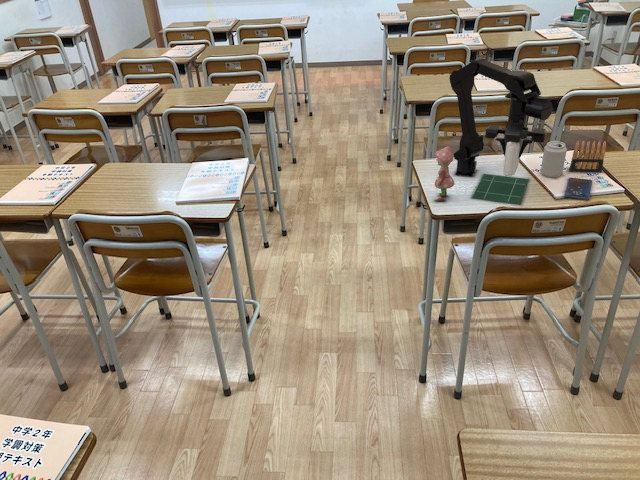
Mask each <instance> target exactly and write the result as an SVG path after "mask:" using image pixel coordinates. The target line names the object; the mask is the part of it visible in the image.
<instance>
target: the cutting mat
mask: <svg viewBox="0 0 640 480" xmlns="http://www.w3.org/2000/svg"><path fill="white" fill-rule="evenodd" d="M528 182H529V178H522V177H515V176H507V175H498V174H497V175H495V174H487V173H484V174H483V175H482V177H481V179H480V181H479V183H478V185H477V187H476V189H475V191H474V193H473V195H472V197H471V198H472V199H475V200H483V201H490V202H498V203H506V204H512V205H521V203H522V200H523V198H524V195H525V191H526V188H527V185H528Z"/></svg>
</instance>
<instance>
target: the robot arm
mask: <svg viewBox="0 0 640 480" xmlns="http://www.w3.org/2000/svg"><path fill="white" fill-rule="evenodd" d="M478 75H480V76H483V77H485V78H488V79H490V80H493V81H495V82H498V83H500V84H501V85H503V86H504V88H505V89H506V90H507V91H508V93H506V94H505V95H504V98H506V99H510V101H509V110H508V118H507V123H506V126H505V128H501V125H498V124H489V125H488V126H487V128H486V129H485V132H484V133H485V134H484V136H483V134H482V135H480V134H479V133H478V131H477V127H476V120H475V112H474V103H473V96H472V91H473V89H474V86H475V77H476V76H478ZM448 79H449V83H450V87H451V90H452V91H453V92H454V94H455V95H456V98H457V105H458V113H459V119H460V127H461V137H460V140H459V149H458V150H457V151H456V152H454V153H452V154H453V160H454V161H456V172H455V176H462V177H473V176H474V174H475V173H476V172H477V165H478V162H477V160H476V158H477V157H479V156H480V155H481V153H482V152H483V151H484V147H485V143H484V137H485V138H486V139H495V141H496V142H499V143H500V145H501V149H502V153H503V156H504V157H505V153H506V146H507V143H508V142H515V143H518V142H520V139H522V145H521V150H520V153H519V159H520V158H521V157H522V155H523V153H524V151H525V149H526V147H527V146H528V145H529V144H530V145H531V144H533V143H542V144H543V143H545V141H546V137H547V131H548V130H547V129H546V128H541V127H534V128H533V130H529V127H527V120H528V117H531V118H533V119H537V120H540V121H547V120H548V119H549V118H550V117H551V115H552V113H553V110H554V107H553V103H552V102H551V97H548V96H541V95H542V92H541V90H540V88H539V85H538V83H537V81H536V78H535V75H534V74H533V73H532V72H530V71H524V70H511V69H509V68H507V67H503V66H501V65H498V64H496V63H494V62H491V61H488V60H486V59H485V58H482V57H480V58H477V59H474V60H471V62H470V63H467V64H466V65H464V66H462V67H461V68H459V69H455V70H452V72H451V73H450V75H449V78H448ZM528 91H529V92H528Z"/></svg>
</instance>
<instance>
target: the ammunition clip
mask: <svg viewBox="0 0 640 480" xmlns="http://www.w3.org/2000/svg"><path fill="white" fill-rule="evenodd" d="M585 143H586V145H585ZM601 144H602V145H601ZM606 148H607V141H606V140H604V141H603V143H602V142H601V140H598V142H597V144H596V140H593V142H592V144H591V141H590V140H587V142H585V140H582V142H581V144H580V141H579V140H577V141H576V143H575V146H574V150H573V152H572V157H571V161H570V164H569V169H568V170H569V172H570V173H602V172H603V166H604V161H605V155H606Z"/></svg>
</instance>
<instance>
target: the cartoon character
mask: <svg viewBox="0 0 640 480" xmlns="http://www.w3.org/2000/svg"><path fill="white" fill-rule="evenodd" d="M453 154H454V153H453V150H452V149H451V147H450V146H449V145H446V146H445V147H443V148H441V149H439V150H436V152H435V153H434V156H435V157H436V162H437V165H438V166H441V167H440V168H439V170H438V172H437V173H438V176H437V178H436V179H435V181H434V187H435V188H436V189H439V190H440V192H439V195H440V197H439V198H436V201H437V202H444V201H445V200H446V197H447V196H448V193H447V191H448V189H451V188H453V187H454V186H455V179H453V177H452V175H450V169H449V166H450V164H451V163H452V162H453V161H454V155H453Z"/></svg>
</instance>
